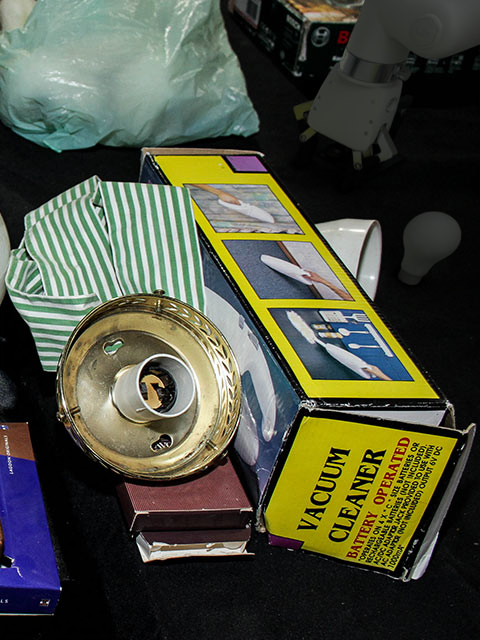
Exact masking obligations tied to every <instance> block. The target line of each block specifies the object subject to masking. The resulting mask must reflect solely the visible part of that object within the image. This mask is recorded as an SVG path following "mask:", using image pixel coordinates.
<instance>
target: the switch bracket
mask: <svg viewBox="0 0 480 640" xmlns="http://www.w3.org/2000/svg"><path fill="white" fill-rule="evenodd" d="M414 98H415V97H414V96H413V95H411V94H406V95H404V96H400V99H399V103H398V106H397V109H396V113H395V116H394V118H393V121H392V124H391V127H390V129H389V132H388V133H389V135H390V137H391V139H392V141H393V142H394V141H395V139H396V136H397V134H398V132H399V130H400V128H401V126H402V124H403V121H404V120H405V117H406V116H407V113H408V111H409V110H410V107H411V104H412V103H413V100H414ZM348 150H349V152H348V156H347V157H346V159H345V160H344V161H342V162H340V163H331V162H329V161H327V160H326V158H325V156H324V152H322V153H320V154H318V157H319V158H320V159H323V160H325V161H327V162H328V163H330V164H333V165H334V166H336V167H338V168H340V169H341V170H344V171H346V172H347V169H348V168H349V167H350V166H352V165H353V164H354V163H353V150H352V149H351V148H349V147H348ZM372 150H373V155H375V154H378V153H380V152H381V149H380V147H379V145H378V144H372ZM404 160H405V158H404V157H401V156H400V155H398V154H397V155H396V156H394V157H392V158H390V159H387V160H385V161H382V162H380V163H378V164H375V165H372V166H369V167H366V169H365V172H364V174H363V176H362V178H361V180H363V181H367V180H369V179H371V178H373V177H375V176H377V175H379V174H380V173H382V172H384V171H386V170H388V169H390V168H392V167H394V166H397V165H398V164H400V163H401V162H403V161H404Z"/></svg>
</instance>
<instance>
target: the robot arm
mask: <svg viewBox="0 0 480 640" xmlns="http://www.w3.org/2000/svg"><path fill="white" fill-rule="evenodd" d="M479 45H480V0H364V1H363V3H362V5H361V9H360V11H359V14H358V16H357V18H356V21H355V24H354V26H353V28H352V32H351V33H350V37H349V39H348V42H347V44H346V46H345V49H344V52H343V54H342V57H341V59H340V60H339V61H337V62H336V63H335V64H334V65H333V67H332V68H331V70H330V71H329V73H328V74H327V76H326V78H325V79H324V81H323V83H322V84H321V86H320V88H319V90H318V92H317V93H316V96H315V97H314V99H312V100H309V101H305V102H301V103H299V104H297V105H295V106H293V112H294V116H295V118H296V126H297V129H298V131H299V134H300V135H299V141H301V142H300V145H299V148H298V151H297V153H296V155H295V157H296V161H295V163H294V166H295V167H297V168H300V167H302V166H305V165H307V164H309V163H311V162H312V161H313V158H314V155H315V153H316V151H317V148H318V146H319V144H320V137H318V136H319V135H320V134H321V135H323V136H325V137H327V138H329V139H331V140H333V141H337V142H339V143H341V144H343V145H345V146H347V147H349V148H351V149H352V150H353V163H354V164H353V165H352V166H350V167H349V168H348V169H347V171H346V172H345V174H344V176H343V178H342V180H341V182H340V185H339V190H340V191H342V192H346V191H348V190H350V189H352V188H355V187H357V186H358V185H359V184H360V183H361V181H362V179H361V178H362V176H363V174H364V172H365V169H366V167H369V166H372V165H375V164H378V163H380V162H382V161H385V160H387V159H390V158H392V157H394V156H396V155H397V156H398V153H399V152H398V149H397V147H396V145H395V144H394V141H392V139H391V137H390V135H389V133H388V132H389V129H390V127H391V124H392V121H393V118H394V116H395V113H396V109H397V106H398V103H399V99H400V98H401V93H402V88H403V81H404V82H406V81H408V79H409V78H410V77H411V75H412V71H410V70H408V68H406V65H407V62H408V60H407V58H408V56H409V54H410V52H412V53H413V54H415V55H417V56H418V57H421V58H424V59H426V60H441V59H445V58H449V57H451V56H453V55H456V54H459V53H462V52H464V51H467V50H469V49H471V48H475V47H476V46H479ZM372 144H378V145H379V147H380V149H381V152H380V153H378V154H375V155H373V150H372Z"/></svg>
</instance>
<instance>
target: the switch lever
mask: <svg viewBox="0 0 480 640" xmlns="http://www.w3.org/2000/svg"><path fill="white" fill-rule="evenodd" d="M348 152H349V150H348V147H347V146H345V145H343V144H341V143H339V142H337V141H335V140H333V141H331V142H329V143H328V144H327V145H326V146H325V147H324V150H323V153H324V156H325V158H326V160H327V162H328V161H329V162H328V163H330V162H331V163H330V164H332V163H340V162H342V161H344V160H345V159H346V157H347V156H348ZM326 160H325V161H326Z"/></svg>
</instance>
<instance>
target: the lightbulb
mask: <svg viewBox="0 0 480 640" xmlns="http://www.w3.org/2000/svg"><path fill="white" fill-rule="evenodd" d="M461 240H462V230H461V227H460V225H459V223H458V222H457V220H456V219H455V218H453V217H452V216H451V215H449V214H447V213H445V212H441V211H426V212H423V213H420V214H418V215H416V216H414V217H413V218H412V219H411V220H409V222H408V223H407V224H406V225H405V228H404V230H403V234H402V241H403V248H404V254H403V259H402V261H401V263H400V269H399V271H398V274H397V278H398V280H399V281H400V282H402V283H404V284H406V285H409V286H415V285H418V284H419V283H420V282H421V280H422V278H423V277H424V276H426V275H427V274H428V272H429V271H430V269H431V268H432V267H433V266H434V265H435V264H437V263H438V262H440V261H442V260H444V259H445V258H447V257H449V256H451V255H452V254H453V253H454V252H455V251H456V250H457V249H458V247H459V246H460V243H461Z"/></svg>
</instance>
